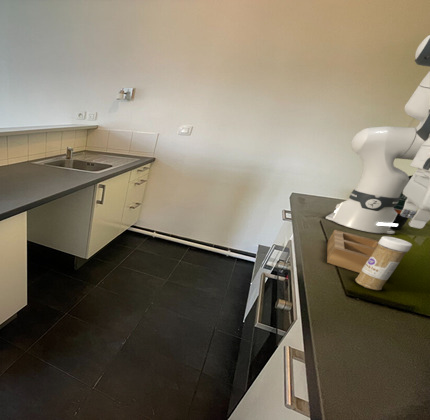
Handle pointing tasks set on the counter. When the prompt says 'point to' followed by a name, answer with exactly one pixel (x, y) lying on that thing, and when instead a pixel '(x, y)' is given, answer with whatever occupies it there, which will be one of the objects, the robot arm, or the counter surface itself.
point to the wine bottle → (398, 209)
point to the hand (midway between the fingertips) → (409, 221)
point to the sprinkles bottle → (382, 262)
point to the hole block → (350, 250)
